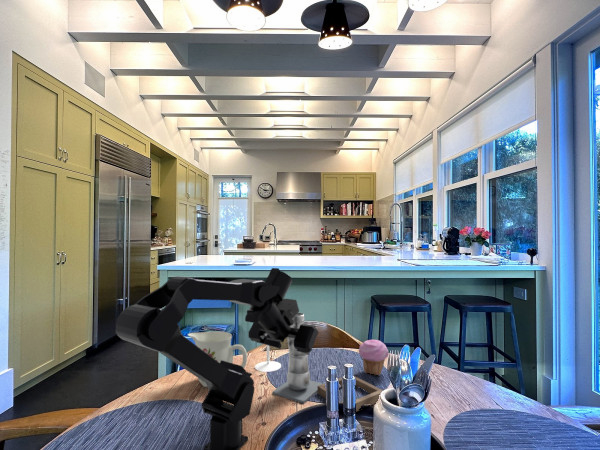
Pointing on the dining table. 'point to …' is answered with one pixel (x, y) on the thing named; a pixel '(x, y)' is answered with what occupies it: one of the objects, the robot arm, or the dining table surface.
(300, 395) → the slate mat
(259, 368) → the wineglass
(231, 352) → the pitcher
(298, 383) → the plastic bottle
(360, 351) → the cupcake
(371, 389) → the caddy frame
